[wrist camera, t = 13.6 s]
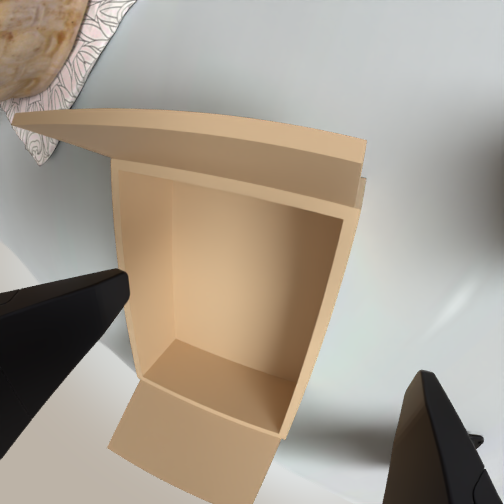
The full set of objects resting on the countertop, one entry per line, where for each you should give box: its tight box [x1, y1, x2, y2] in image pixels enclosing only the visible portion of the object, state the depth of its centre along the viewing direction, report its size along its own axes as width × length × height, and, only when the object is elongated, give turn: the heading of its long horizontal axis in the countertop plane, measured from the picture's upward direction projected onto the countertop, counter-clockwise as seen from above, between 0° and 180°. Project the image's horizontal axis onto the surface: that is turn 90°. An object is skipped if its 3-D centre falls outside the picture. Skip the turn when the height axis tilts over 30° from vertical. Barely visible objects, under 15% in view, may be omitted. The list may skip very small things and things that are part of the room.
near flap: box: [11, 108, 367, 208], centre depth 11 cm, size 7×12×1 cm
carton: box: [111, 158, 366, 440], centre depth 21 cm, size 18×13×6 cm
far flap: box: [108, 380, 281, 504], centre depth 21 cm, size 7×12×1 cm
